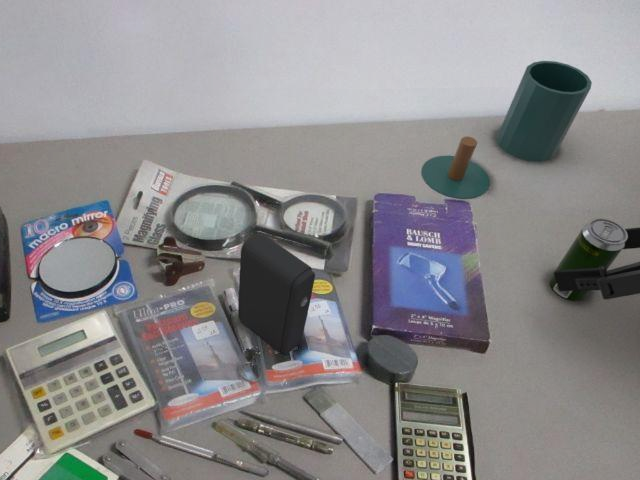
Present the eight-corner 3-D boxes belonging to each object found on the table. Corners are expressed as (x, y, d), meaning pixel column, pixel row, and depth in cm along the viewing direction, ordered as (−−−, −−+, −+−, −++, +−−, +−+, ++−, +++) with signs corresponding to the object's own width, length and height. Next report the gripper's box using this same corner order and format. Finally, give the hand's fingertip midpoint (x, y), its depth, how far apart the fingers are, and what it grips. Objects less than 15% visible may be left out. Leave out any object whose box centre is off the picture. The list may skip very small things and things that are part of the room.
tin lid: (479, 162, 105) (496, 122, 99) (494, 205, 98) (513, 165, 92) (415, 158, 106) (428, 118, 99) (425, 200, 98) (439, 160, 92)
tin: (544, 132, 112) (579, 62, 101) (561, 167, 105) (600, 95, 95) (489, 129, 112) (519, 59, 101) (502, 163, 106) (535, 92, 95)
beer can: (577, 311, 84) (621, 251, 75) (540, 291, 86) (579, 231, 77) (590, 290, 87) (635, 230, 77) (555, 271, 89) (594, 211, 80)
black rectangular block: (305, 345, 79) (321, 267, 67) (285, 362, 77) (298, 286, 65) (255, 306, 82) (262, 227, 71) (235, 322, 81) (239, 243, 69)
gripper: (736, 332, 58) (540, 325, 77) (837, 232, 68) (642, 248, 87) (717, 262, 57) (523, 272, 76) (824, 171, 67) (628, 200, 86)
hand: (586, 259), depth 81 cm, fingers open, 13 cm apart
